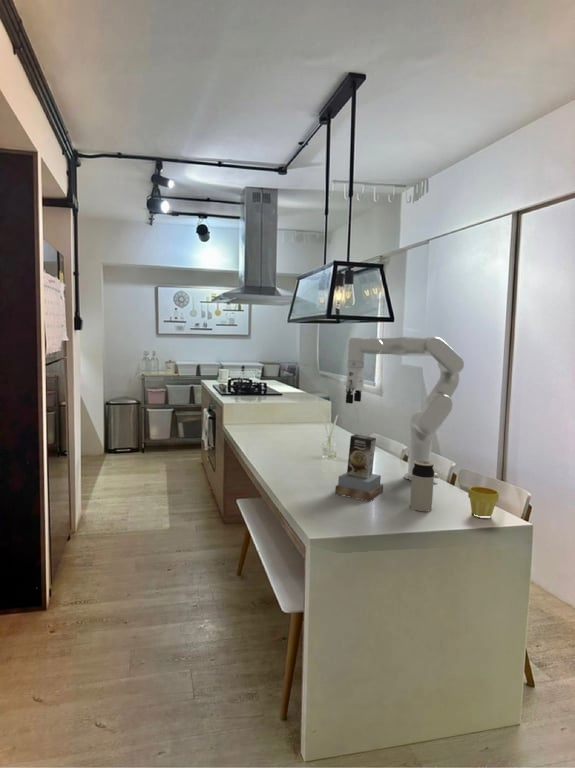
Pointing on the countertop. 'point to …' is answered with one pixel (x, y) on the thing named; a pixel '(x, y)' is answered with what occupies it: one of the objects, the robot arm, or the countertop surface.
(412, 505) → the travel mug
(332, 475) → the countertop surface
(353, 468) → the coffee box
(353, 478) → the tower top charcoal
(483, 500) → the plant pot
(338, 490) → the tower base walnut
